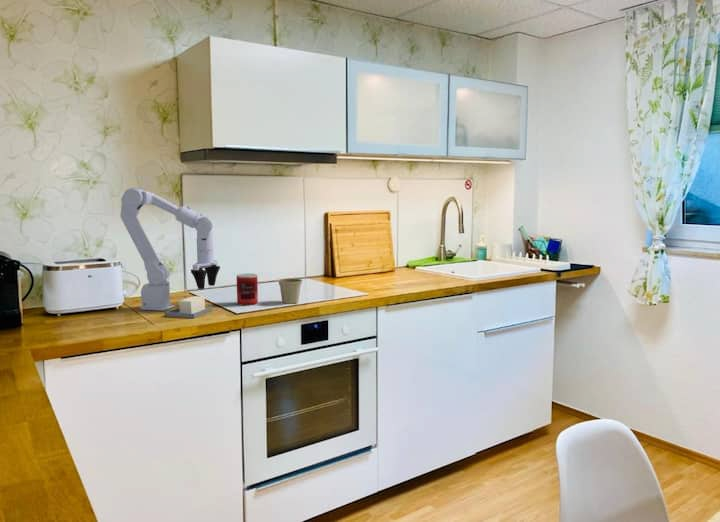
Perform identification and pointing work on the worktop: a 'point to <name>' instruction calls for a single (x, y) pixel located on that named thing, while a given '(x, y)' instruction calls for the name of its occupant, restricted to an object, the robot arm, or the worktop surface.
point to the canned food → (247, 289)
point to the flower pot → (290, 290)
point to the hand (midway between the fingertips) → (206, 287)
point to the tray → (186, 315)
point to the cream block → (192, 304)
